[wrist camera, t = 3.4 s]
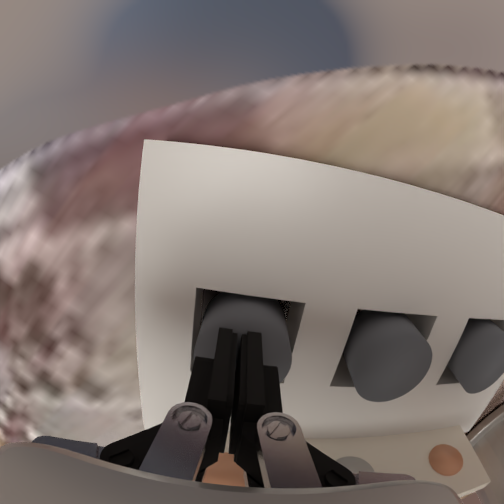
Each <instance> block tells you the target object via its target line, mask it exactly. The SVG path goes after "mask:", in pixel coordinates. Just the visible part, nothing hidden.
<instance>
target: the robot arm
mask: <svg viewBox="0 0 504 504" xmlns="http://www.w3.org/2000/svg"><path fill="white" fill-rule="evenodd" d="M232 332H233V329H228V328H221V327H219V332H218V338H217V344H216V350H215V356H214V359H211V358H205V357H198V356H196V357H195V360H194V364H193V368H192V372H191V376H190V380H189V385H188V389H187V393H186V397H185V402H182V403H179V404H176V405H175V406H173V407H171V409H170V410H169V411H168V413H167V415H166V417H165V419H164V421H163V423H161V424H158V425H156V426H154V427H151V428H149V429H146V430H144V431H142V432H139V433H137V434H134V435H132V436H129V437H127V438H124V439H121V440H119V441H116V442H113V443H111V444H109V445H107V446H106V447H101V446H98V445H97V443H90V442H82V441H75V440H69V439H63V438H57V437H52V436H40V437H37V438H36V439H34V440H33V441H32V442H15V443H9V444H5V445H4V446H2V447H0V504H463V502H462V501H461V499H460V497H459V496H458V495H457V493H456V492H455V491H454V490H453V489H452V488H450V487H448V486H447V485H444V484H441V483H437V482H432V481H424V480H415V478H413V477H412V476H410V475H406V474H393V473H376V472H364V471H358V473H352V472H351V471H350V470H349V469H348V468H346V467H345V466H343V465H341V464H340V463H338V462H337V461H335V460H333V459H332V458H330V457H329V456H327V455H326V454H324V453H323V452H321V451H320V450H318V449H317V448H315V447H314V446H312V445H311V444H309V443H308V442H306V441H305V438H304V435H303V432H302V429H301V427H300V425H299V423H298V421H296V420H295V419H294V418H293V417H291V416H290V415H288V414H284V413H283V410H282V401H281V392H280V383H279V374H278V367H277V366H268V365H263V351H262V333H259V332H251V331H248V332H247V335H246V334H242V336H241V342H240V348H239V354H238V359H237V365H236V352H237V337H238V333H232ZM235 368H236V371H235ZM230 418H231V422H230ZM229 423H230V438H229V454H234V462H236V464H237V465H238V466H240V467H241V468H242V469H243V470H244V471H243V476H244V482H245V487H241V486H229V485H219V484H211V483H203V481H204V478H205V475H206V471H207V467H209V466H211V465H212V464H214V463H216V462H217V461H218V456H219V453H224V451H225V445H226V440H227V434H228V429H229ZM466 437H467V438H468V440H469V442H470V444H471V445H472V447H473V449H474V451H475V453H476V454H477V456H478V458H479V460H480V462H481V463H482V465H483V467H484V469H485V471H486V473H487V475H488V476H489V478H490V480H491V482H490V483H488V484H487V485H486V486H485V487H484V488H482V489H480V490H477V491H476V493H477V495H478V497H479V499H480V501H481V504H504V404H503V405H502V406H500V407H499V408H498V409H496V410H495V411H494V412H492V413H491V414H490V415H489V416H487V417H486V418H485V419H484V420H483V421H482V422H480V423H479V424H478V425H477V426H476V427H475V428H474V429H473V430H472V431H471V432H470V433H469V434H468V435H467V436H466Z"/></svg>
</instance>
